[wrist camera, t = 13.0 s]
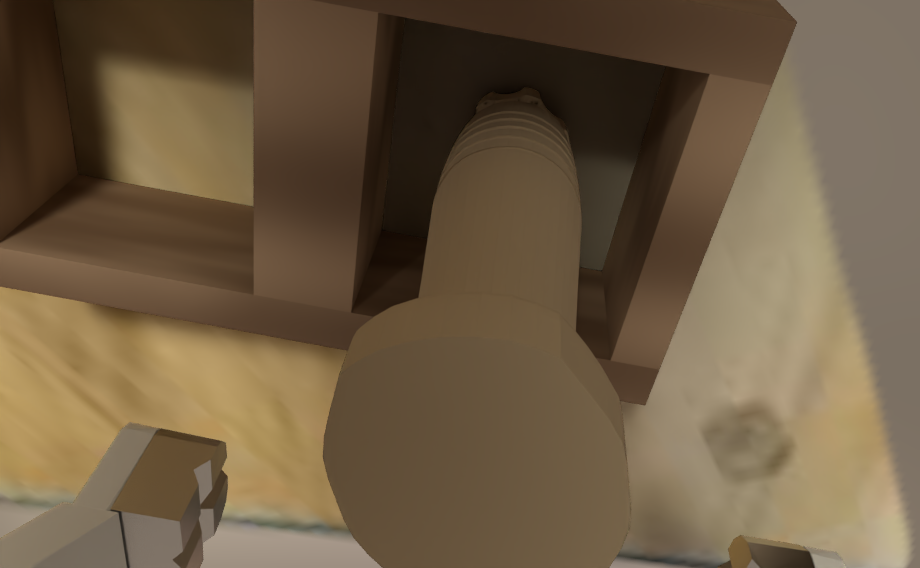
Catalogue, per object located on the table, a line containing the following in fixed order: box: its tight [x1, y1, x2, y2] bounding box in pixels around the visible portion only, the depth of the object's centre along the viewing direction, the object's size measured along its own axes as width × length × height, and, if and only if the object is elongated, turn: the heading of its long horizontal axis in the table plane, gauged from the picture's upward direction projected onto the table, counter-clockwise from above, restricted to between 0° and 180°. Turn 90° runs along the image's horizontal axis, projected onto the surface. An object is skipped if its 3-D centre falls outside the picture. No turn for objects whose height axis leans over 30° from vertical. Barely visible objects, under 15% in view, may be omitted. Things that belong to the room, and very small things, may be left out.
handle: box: [323, 87, 631, 568], centre depth 19 cm, size 5×6×15 cm
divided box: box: [0, 0, 797, 405], centre depth 23 cm, size 12×22×5 cm, turn 81°
